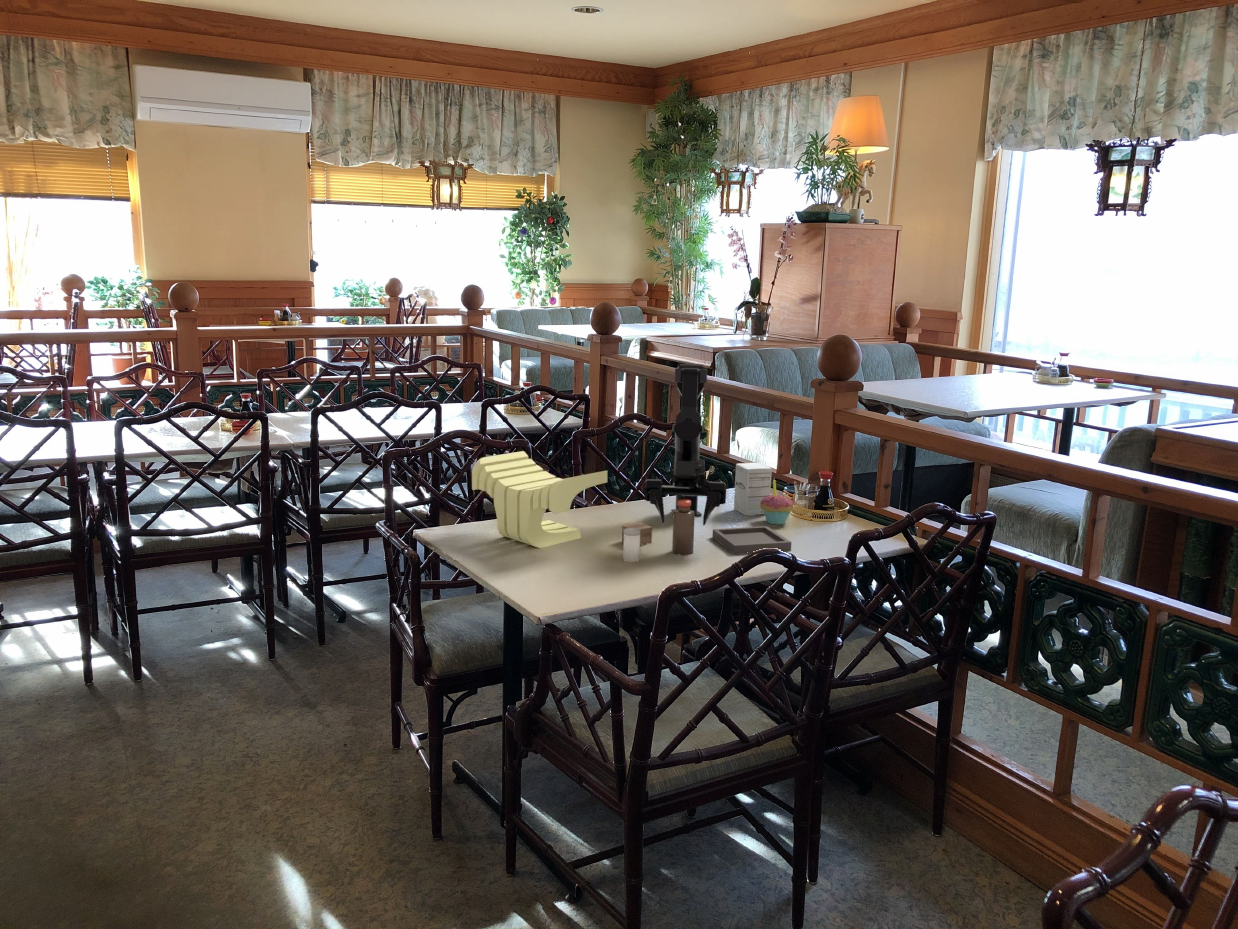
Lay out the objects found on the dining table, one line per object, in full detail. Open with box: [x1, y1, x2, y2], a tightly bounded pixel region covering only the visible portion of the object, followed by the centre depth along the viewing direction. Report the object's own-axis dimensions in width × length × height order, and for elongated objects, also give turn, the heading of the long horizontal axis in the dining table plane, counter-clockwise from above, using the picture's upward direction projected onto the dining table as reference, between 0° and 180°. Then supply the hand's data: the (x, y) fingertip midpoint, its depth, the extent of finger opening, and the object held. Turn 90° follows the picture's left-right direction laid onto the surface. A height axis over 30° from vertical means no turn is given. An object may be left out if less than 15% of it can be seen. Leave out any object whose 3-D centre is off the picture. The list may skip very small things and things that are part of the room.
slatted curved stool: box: [471, 450, 608, 549], centre depth 228 cm, size 30×16×18 cm, turn 45°
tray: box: [712, 525, 792, 555], centre depth 228 cm, size 14×14×2 cm
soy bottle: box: [671, 499, 696, 556], centre depth 219 cm, size 5×5×12 cm
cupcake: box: [760, 477, 794, 525], centre depth 247 cm, size 9×8×12 cm
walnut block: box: [621, 521, 653, 546], centre depth 228 cm, size 5×5×4 cm
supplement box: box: [733, 462, 773, 516], centre depth 256 cm, size 7×7×13 cm
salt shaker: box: [622, 528, 641, 563], centre depth 214 cm, size 4×4×7 cm
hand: (683, 523), depth 218 cm, fingers open, 9 cm apart
